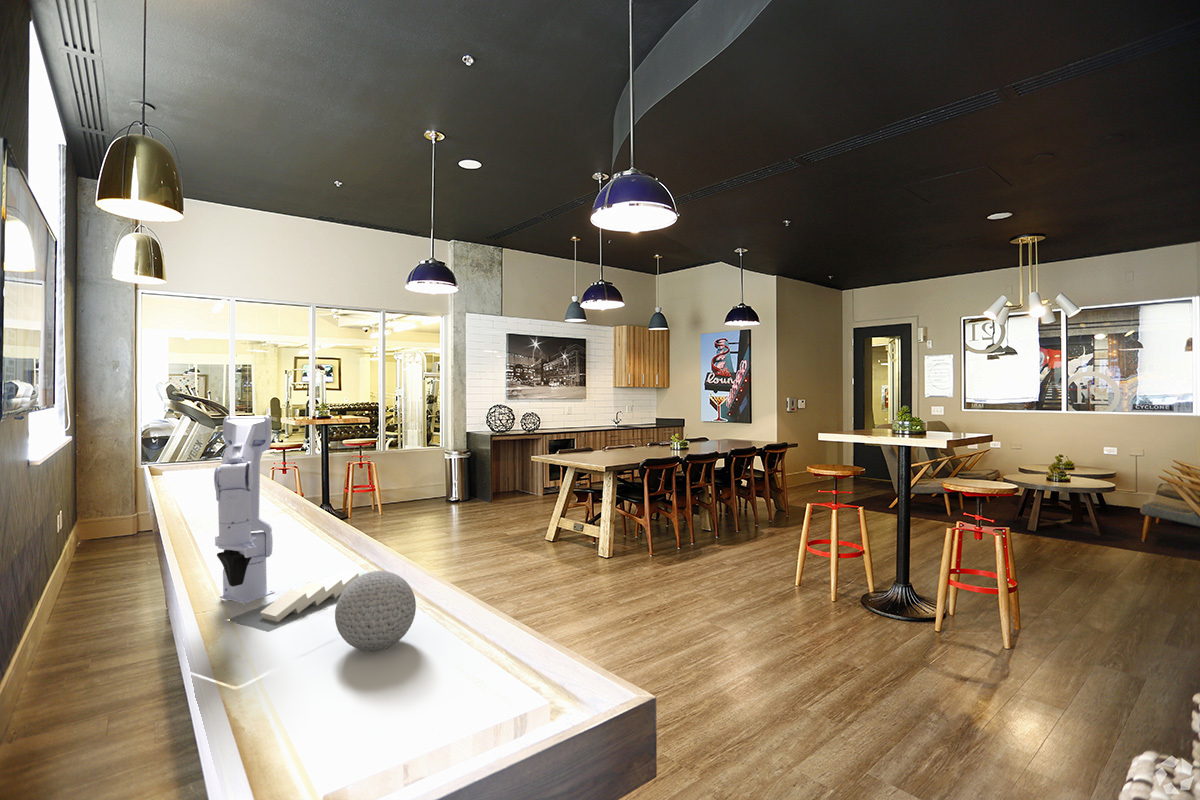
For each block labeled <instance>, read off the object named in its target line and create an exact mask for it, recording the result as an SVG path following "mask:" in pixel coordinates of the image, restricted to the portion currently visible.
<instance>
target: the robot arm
mask: <svg viewBox="0 0 1200 800" xmlns="http://www.w3.org/2000/svg"><path fill="white" fill-rule="evenodd" d="M222 437H223V439H224V442H225V447H227V448H225V450H224V454H223V457H222V459H221V464H220V465H219V466H217V467H215V468H214V475H213V484H214V488H215V498H216V502H217V505H218V510H217V511H218V536H215V537H214V542H215V543H214V546H216V547H218V549H219V550H223V551H221V552H218V553H217V554H216V557H217V558H218V559H219V562H220V563H221V564H222V566H223V567H222V568H223V571H222V588H223V589H222V591H223V592H222V593H223V594H220V595H219V598H220V599H223V600H229V601H233V602H238V603H242V604H247V603H250V602H253V601H255V600H259V599H261V598H263V597H266V596H267V597H268V596H270V595H273V594H275V593H276V591H275V590H271V589H268V588H267V586H268V585H267V583H268V582H267V558H270V556H272V554H273V530H272V529H273V528H272V526H271V524H270V523H268V521H267V522H266V521H265V520H263V519H261V518H260V488H261V487H260V483H261V482H260V481H261V480H260V479H261V478H260V477H261V476H260V474H261V472H260V471H261V466H260V465H261V458H262V454H263V453H264V452H266V451H268V450H270V449H271V445H272V418H271V416H270V415H268V414H266V415H245V416H244V415H241V416H239V415H237V416H235V415H234V416H233V415H232V416H231V415H226V416H225V417H224V419H223V422H222ZM256 531H257V532H256ZM259 531H260V532H259Z"/></svg>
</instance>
